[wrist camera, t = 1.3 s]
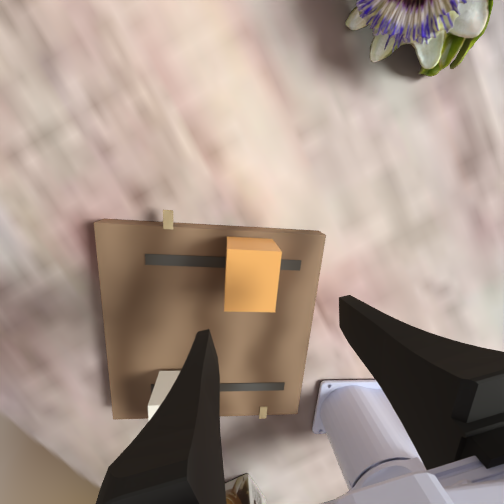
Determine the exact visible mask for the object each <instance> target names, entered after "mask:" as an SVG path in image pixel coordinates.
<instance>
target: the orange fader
mask: <svg viewBox="0 0 504 504" xmlns="http://www.w3.org/2000/svg"><path fill="white" fill-rule="evenodd" d="M281 256H282V251H281V250H280V248H279V247H278V246H277V244H276V243H275V242H274V240H273V239H266V238H247V237H227V247H226V268H225V288H224V311H225V312H275V309H276V300H277V291H278V282H279V273H280V264H281Z"/></svg>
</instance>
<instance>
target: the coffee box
mask: <svg viewBox="0 0 504 504" xmlns="http://www.w3.org/2000/svg"><path fill="white" fill-rule="evenodd" d="M225 491H226V501H227V504H266V499H265V497H264V495H263V494H262V493H261V491H260V490H259V488H258V487H257V485H256V484H255V483H254V481H253V480H252V478H251V477H250V475H249V474H245V475H242V476H240V477H238V478H236V479H234V480H232V481H229V482H227V483H225Z"/></svg>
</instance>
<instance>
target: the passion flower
mask: <svg viewBox="0 0 504 504" xmlns="http://www.w3.org/2000/svg"><path fill="white" fill-rule="evenodd" d="M492 6H493V0H357V3H356V7H355V8H354V9H353V10H352V12H351V13H350V15H349V17H348V19H347V20H346V23H345V24H346V26H347V27H348V28H350V29H351V30H358V29H360V28H364V27H366V26H368V25H370V26H371V27H370V29H371V28H373V35H374V39H373V41H372V44H371V46H370V59H371V61H372V62H378V61H380V60H382V59H385V58H386V57H388V56H390V55H391V54H392V53H393V52H394V51H395V50H396V49H397V48H399V47H400V46H401V45H404V44H412V46H413V47H414V48H415V50H416V55H417V57H418V60H419V63H420V64H421V66H422V67H421V70H420V71H419V74H423V75H426V76H434V75H436V74H438V72H439V71H440V70H442V69H444V68H445V67H447V66H448V65H449V64H450V62H451V60H452V59H453V58H454V57H455V55H456V54H457V52H458V51H459V50H460V51H459V53H458V55H457V57H456V59H455V60H454V61H453V62H452V63H451V64H450V69H454V68H455V67H456V66H458V65H459V64H460V63H461V61H462V60H463V58H464V57H465V55H466V54H467V52H468V50H469V49H470V48H471V47H473V45H474V43H475V42H476V41H477V40H478V39H479V38H480V37H481V36H482V34H483V33H484V31H485V29H486V27H487V25H488V22H489V18H490V14H491V10H492Z"/></svg>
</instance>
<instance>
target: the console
mask: <svg viewBox="0 0 504 504" xmlns="http://www.w3.org/2000/svg"><path fill="white" fill-rule="evenodd" d="M94 231H95V241H96V251H97V262H98V272H99V282H100V292H101V302H102V312H103V322H104V332H105V342H106V352H107V362H108V372H109V382H110V392H111V402H112V412H113V419H144V418H148V403H149V400H150V398H151V395H152V392H153V389H154V386H155V383H156V380H157V377H158V374H159V371H181V369H182V367H183V365H184V363H185V361H186V359H187V356H188V354H189V352H190V349H191V347H192V344H193V342H194V339H195V336H196V334H197V332H198V331H202V330H207V329H210V333H211V336H212V339H213V343H214V346H215V349H216V353H217V356H218V363H219V373H220V416H246V415H259V419H265V418H266V415H280V414H297V413H298V406H299V400H300V394H301V388H302V381H303V375H304V369H305V363H306V356H307V350H308V344H309V338H310V331H311V325H312V319H313V313H314V306H315V300H316V294H317V288H318V281H319V275H320V269H321V263H322V256H323V250H324V244H325V238H326V235H325V234H323V233H321V232H320V231H314V230H296V229H278V228H260V227H242V226H225V225H207V224H189V223H173V210H163V222H154V221H136V220H118V219H103V220H100V221H97V222H94ZM227 237H247V238H266V239H273V240H274V242H275V243H276V244H277V246H278V247H279V248H280V250H281V251H282V256H281V264H280V273H279V282H278V291H277V300H276V309H275V312H225V311H224V288H225V268H226V247H227Z"/></svg>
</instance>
